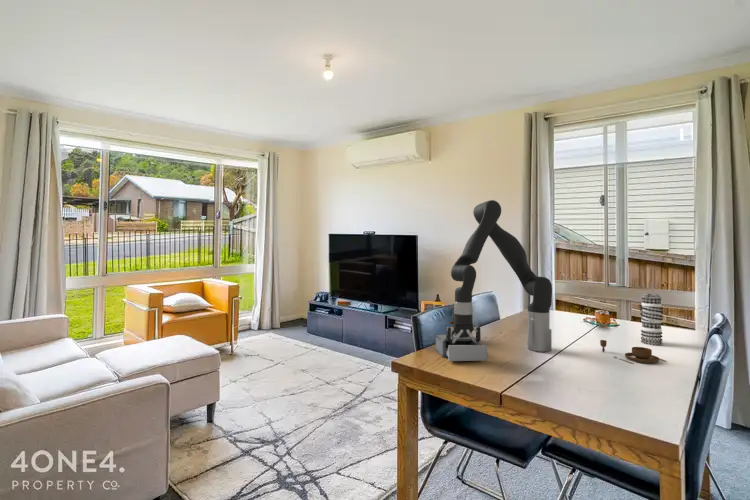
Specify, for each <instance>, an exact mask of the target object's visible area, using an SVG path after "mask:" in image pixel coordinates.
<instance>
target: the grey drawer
mask: <svg viewBox="0 0 750 500" xmlns="http://www.w3.org/2000/svg"><path fill="white" fill-rule="evenodd" d="M445 354H446V355H447V356H448V357H447V358H448V359H447V360H448V362H464V361H465V362H467V361H468V362H469V361H471V362H472V361H473V362H475V361H477V362H478V361H487V360H488V345H487V344H480V345H448V348H445Z"/></svg>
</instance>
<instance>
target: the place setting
mask: <svg viewBox="0 0 750 500" xmlns="http://www.w3.org/2000/svg"><path fill="white" fill-rule="evenodd" d="M599 343H600V345H599V346H600V347H601V348H602V349H601V350H602V353H605V350H606V349H605V348H606V347H607V343H608V342H607V340H605V339H600V342H599ZM624 356H625V358H626V359H627V360H625V359H622V358H620V360H621V361H623V362H626V363H630V364H633V365H634V363H633V362H635V363H640V364H641V363H642V364H657V363H658V362H659V361H660V360H661V361H664V362H667V360H665V359H662V358H660V357H659V356H656V355H653V351H652V349H651V348H648V347H642V346H632V347H631V352H626V353H624ZM613 358H614V359H617V356H615V355H613ZM628 360H629V361H628ZM630 361H632V362H630Z"/></svg>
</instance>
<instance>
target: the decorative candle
mask: <svg viewBox="0 0 750 500" xmlns="http://www.w3.org/2000/svg"><path fill="white" fill-rule="evenodd" d="M662 305H663V304H662V297H661V296H660V294H658V293H652V292H651V293H648V292H646V293H644V294H643V295H641V305H640V306H639V308H640V321H641V329H640V332H641V333H640V335H641V337H640V342H641V343H642V344H644V345H649V346H657V347H658V346H662V345H663V332H662V331H663V330H662V323H663V320H664V319H663V317H664V316H663V315H662V314H663V313H664V311H663V310H664V308H663V307H662Z"/></svg>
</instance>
